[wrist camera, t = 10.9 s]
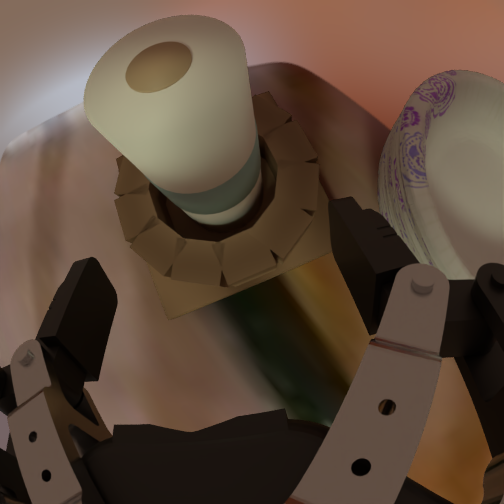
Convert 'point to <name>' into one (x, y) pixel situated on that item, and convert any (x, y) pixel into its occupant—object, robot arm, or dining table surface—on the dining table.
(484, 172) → the paper bowls
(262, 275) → the holder
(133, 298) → the dining table surface
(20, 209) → the dining table surface
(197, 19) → the roll
